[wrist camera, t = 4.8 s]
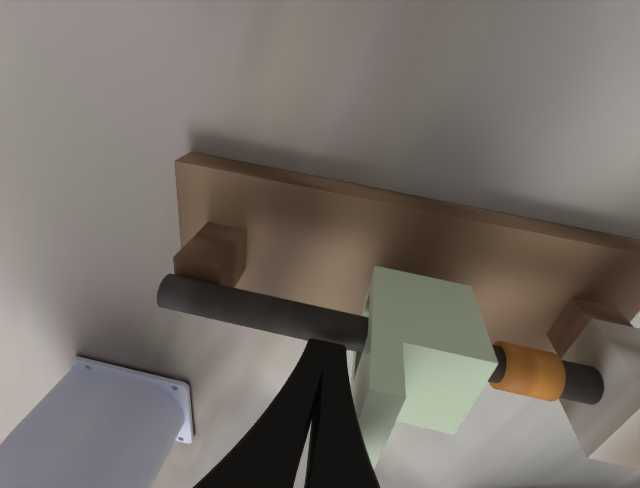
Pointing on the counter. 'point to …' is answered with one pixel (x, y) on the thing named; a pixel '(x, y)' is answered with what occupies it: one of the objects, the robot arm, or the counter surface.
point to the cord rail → (422, 259)
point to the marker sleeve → (418, 356)
